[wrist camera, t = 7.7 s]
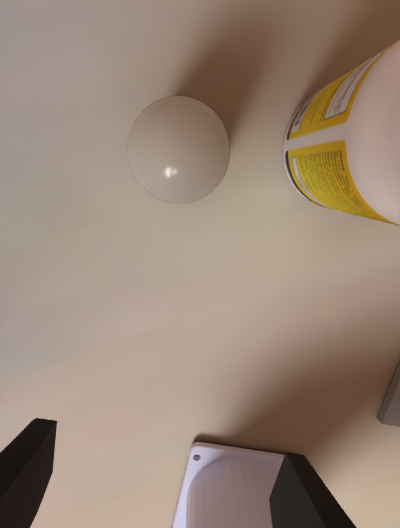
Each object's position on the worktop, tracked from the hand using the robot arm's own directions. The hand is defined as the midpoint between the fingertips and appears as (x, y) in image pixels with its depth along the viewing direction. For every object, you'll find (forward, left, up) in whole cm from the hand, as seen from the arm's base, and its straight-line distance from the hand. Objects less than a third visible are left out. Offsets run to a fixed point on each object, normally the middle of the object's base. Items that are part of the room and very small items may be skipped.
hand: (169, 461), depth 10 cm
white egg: (+9, +2, -11) cm, 14 cm away
